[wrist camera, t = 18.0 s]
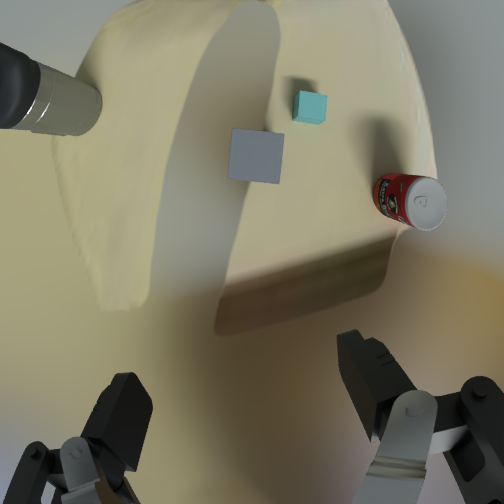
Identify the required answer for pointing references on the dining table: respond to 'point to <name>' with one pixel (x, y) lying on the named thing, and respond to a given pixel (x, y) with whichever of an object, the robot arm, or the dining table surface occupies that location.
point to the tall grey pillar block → (255, 156)
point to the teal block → (310, 107)
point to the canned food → (411, 200)
